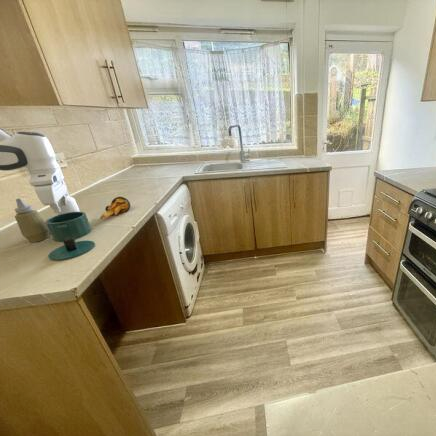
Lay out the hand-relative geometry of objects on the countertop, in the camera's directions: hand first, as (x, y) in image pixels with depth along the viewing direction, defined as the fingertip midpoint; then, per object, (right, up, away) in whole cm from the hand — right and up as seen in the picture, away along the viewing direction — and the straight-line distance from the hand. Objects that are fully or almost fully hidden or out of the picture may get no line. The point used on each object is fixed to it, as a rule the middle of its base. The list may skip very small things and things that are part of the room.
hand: (61, 208), depth 100 cm
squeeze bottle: (-11, -13, +2) cm, 17 cm away
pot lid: (+12, -16, -8) cm, 22 cm away
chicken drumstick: (+6, -3, +25) cm, 25 cm away
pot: (+1, -11, +5) cm, 12 cm away
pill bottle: (-10, -6, +17) cm, 21 cm away
